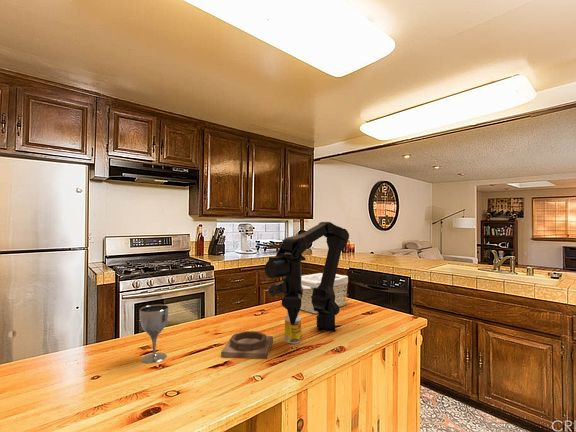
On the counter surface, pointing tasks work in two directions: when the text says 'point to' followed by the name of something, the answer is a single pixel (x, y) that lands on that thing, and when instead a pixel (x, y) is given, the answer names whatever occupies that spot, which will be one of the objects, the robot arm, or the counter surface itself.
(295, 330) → the supplement bottle
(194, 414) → the counter surface
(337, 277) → the storage basket
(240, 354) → the walnut stand
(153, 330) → the wine glass
